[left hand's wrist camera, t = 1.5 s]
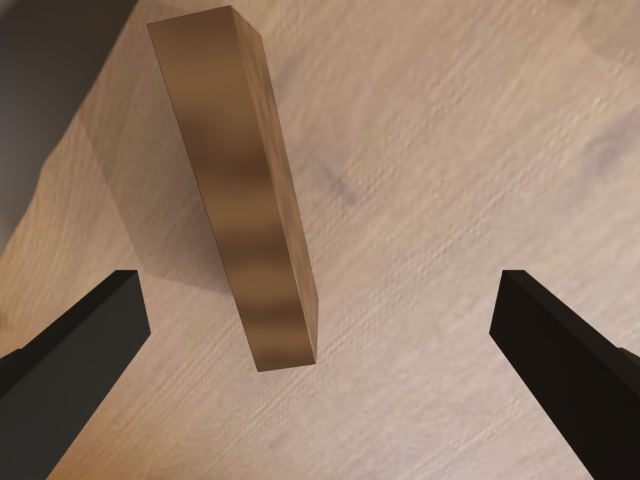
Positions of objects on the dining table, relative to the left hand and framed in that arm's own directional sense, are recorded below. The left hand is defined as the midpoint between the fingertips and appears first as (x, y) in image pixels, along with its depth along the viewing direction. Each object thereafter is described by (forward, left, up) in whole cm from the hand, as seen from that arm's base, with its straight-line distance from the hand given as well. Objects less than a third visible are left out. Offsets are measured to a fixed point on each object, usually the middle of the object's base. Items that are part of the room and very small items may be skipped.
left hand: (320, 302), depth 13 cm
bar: (+4, -3, -20) cm, 20 cm away
